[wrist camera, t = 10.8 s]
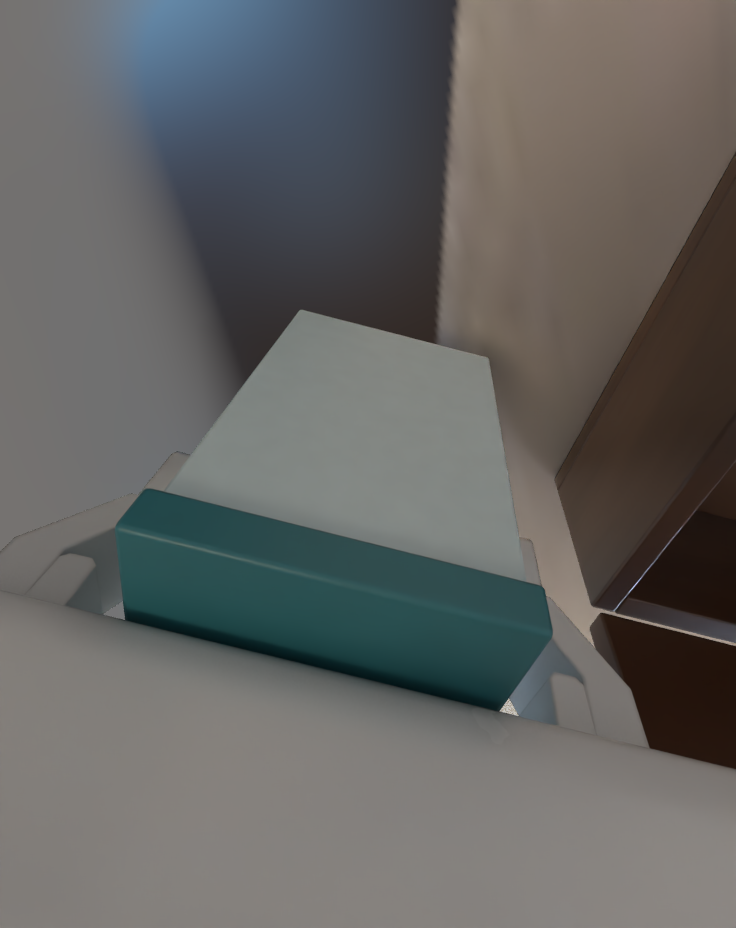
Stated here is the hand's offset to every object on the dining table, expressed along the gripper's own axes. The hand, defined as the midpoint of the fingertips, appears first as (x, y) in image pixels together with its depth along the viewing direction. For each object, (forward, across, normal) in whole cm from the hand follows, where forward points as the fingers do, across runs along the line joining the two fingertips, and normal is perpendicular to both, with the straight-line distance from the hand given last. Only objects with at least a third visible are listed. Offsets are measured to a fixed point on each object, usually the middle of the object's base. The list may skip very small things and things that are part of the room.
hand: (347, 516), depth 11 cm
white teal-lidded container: (+4, 0, 0) cm, 4 cm away
